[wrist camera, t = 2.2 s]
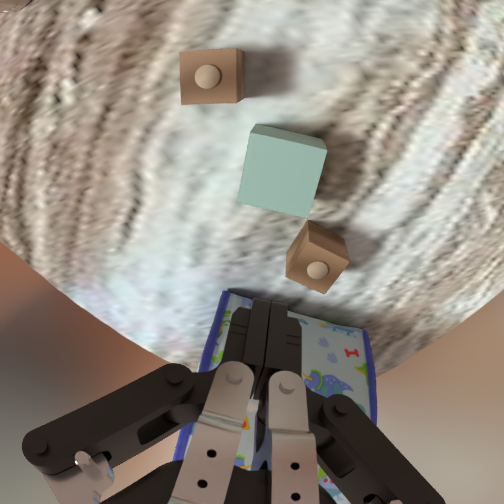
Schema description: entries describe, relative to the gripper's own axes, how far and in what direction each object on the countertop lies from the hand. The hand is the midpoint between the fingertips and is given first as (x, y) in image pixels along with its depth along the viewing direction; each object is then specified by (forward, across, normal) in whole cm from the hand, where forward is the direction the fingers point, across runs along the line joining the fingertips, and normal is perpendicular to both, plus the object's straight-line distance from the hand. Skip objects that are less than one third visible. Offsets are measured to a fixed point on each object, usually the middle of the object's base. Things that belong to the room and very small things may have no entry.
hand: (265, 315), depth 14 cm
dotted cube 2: (+23, +8, -8) cm, 26 cm away
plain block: (+23, 0, 0) cm, 23 cm away
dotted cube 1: (+23, -6, +9) cm, 26 cm away
